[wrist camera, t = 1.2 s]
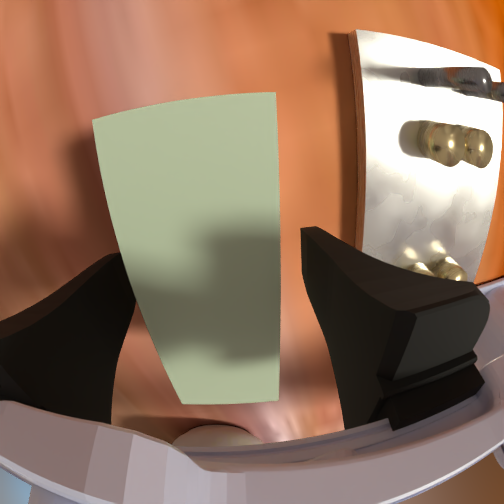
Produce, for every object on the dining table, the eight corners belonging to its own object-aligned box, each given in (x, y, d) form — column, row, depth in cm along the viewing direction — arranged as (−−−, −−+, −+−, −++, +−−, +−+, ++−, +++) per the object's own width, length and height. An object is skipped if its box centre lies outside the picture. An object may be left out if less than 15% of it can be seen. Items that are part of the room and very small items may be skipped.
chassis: (488, 69, 9) (549, 77, 4) (454, 308, 18) (485, 350, 13) (347, 33, 9) (404, 6, 5) (344, 336, 18) (366, 395, 14)
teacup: (149, 421, 24) (140, 487, 17) (243, 405, 22) (246, 487, 15) (217, 459, 30) (217, 509, 23) (292, 446, 28) (300, 500, 21)
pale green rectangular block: (257, 99, 11) (275, 92, 6) (267, 315, 17) (278, 400, 12) (155, 110, 11) (92, 120, 6) (193, 319, 17) (182, 404, 11)
